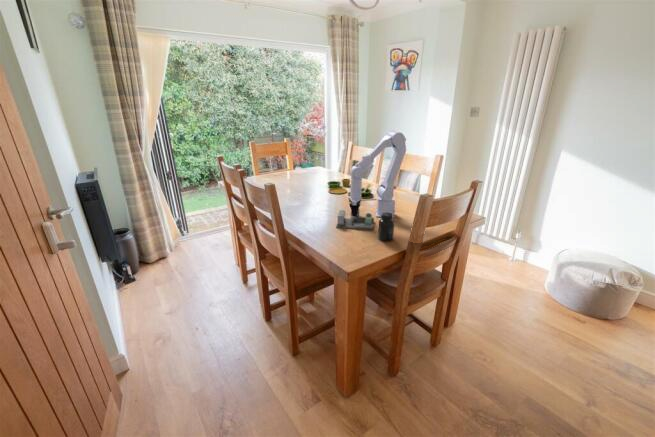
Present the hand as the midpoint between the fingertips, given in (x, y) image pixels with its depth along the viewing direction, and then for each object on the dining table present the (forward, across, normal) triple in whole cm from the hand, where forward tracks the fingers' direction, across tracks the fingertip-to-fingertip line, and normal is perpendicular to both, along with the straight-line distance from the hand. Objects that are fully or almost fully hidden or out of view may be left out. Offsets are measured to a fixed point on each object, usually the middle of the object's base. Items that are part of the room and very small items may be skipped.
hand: (355, 213), depth 158 cm
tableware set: (+3, -45, -8) cm, 45 cm away
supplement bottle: (+2, +24, +16) cm, 29 cm away
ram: (+1, +11, +8) cm, 13 cm away
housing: (+2, 0, 0) cm, 2 cm away
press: (+2, +10, +1) cm, 11 cm away
